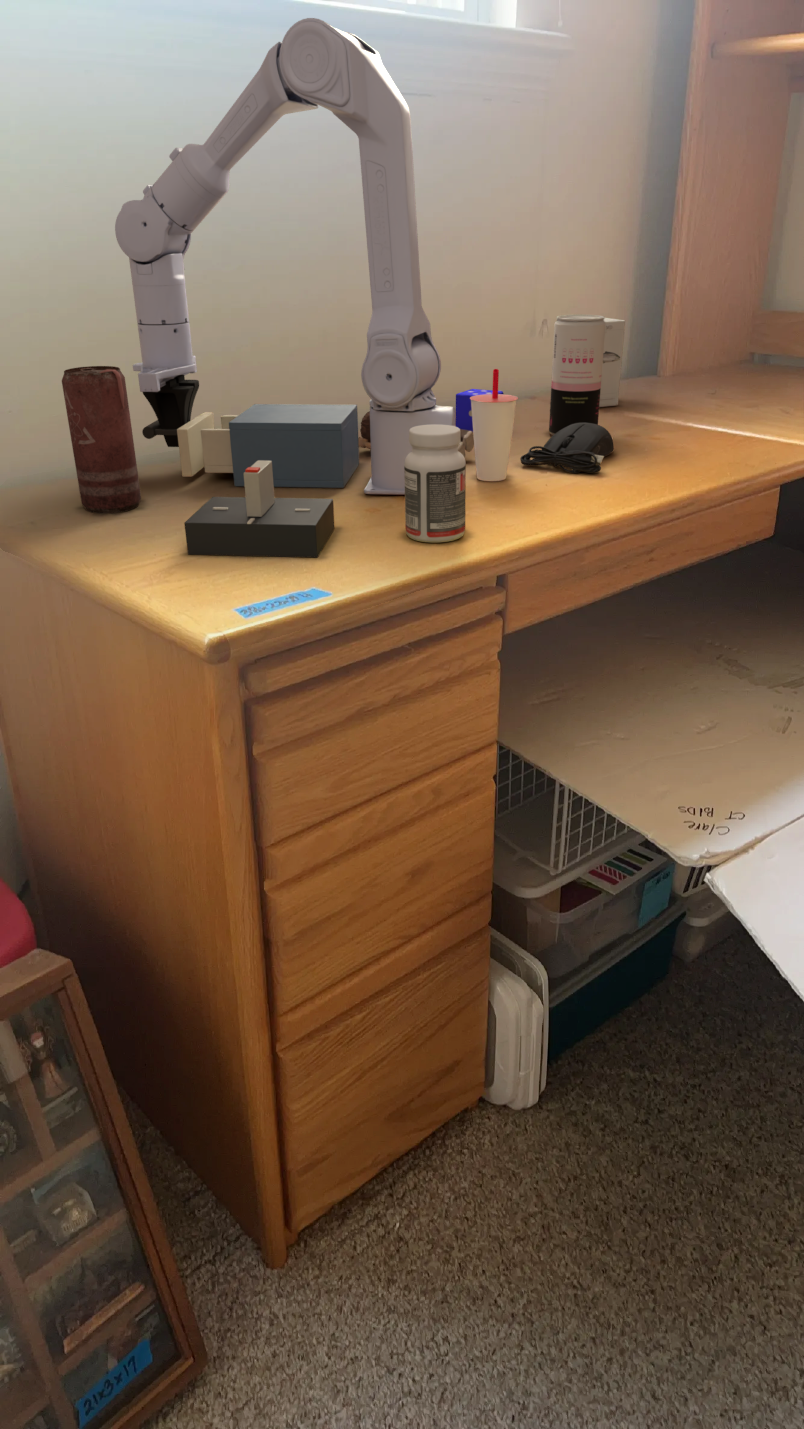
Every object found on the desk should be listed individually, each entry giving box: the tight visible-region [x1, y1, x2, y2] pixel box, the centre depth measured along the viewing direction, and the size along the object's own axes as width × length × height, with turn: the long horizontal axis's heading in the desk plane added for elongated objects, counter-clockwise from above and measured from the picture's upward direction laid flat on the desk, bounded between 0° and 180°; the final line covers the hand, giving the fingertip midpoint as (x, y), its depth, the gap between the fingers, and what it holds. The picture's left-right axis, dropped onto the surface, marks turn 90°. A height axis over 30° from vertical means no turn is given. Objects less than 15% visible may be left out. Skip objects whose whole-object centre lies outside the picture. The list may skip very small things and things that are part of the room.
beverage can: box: [548, 314, 606, 436], centre depth 131 cm, size 6×6×15 cm
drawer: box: [141, 411, 240, 477], centre depth 115 cm, size 16×10×5 cm, turn 84°
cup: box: [470, 368, 519, 482], centre depth 111 cm, size 5×5×12 cm
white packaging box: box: [599, 317, 626, 408], centre depth 152 cm, size 7×7×13 cm
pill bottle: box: [404, 424, 467, 544], centre depth 92 cm, size 6×6×10 cm
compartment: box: [229, 403, 360, 489], centre depth 114 cm, size 13×12×7 cm
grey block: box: [244, 460, 275, 517], centre depth 91 cm, size 5×1×4 cm, turn 173°
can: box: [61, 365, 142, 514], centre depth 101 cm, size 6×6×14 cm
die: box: [455, 388, 504, 431], centre depth 138 cm, size 5×5×5 cm
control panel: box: [183, 496, 335, 558], centre depth 92 cm, size 12×9×3 cm
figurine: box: [358, 410, 474, 459], centre depth 125 cm, size 8×5×15 cm
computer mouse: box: [519, 423, 615, 474], centre depth 121 cm, size 10×15×4 cm
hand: (177, 445), depth 116 cm, fingers closed, pressing on drawer
